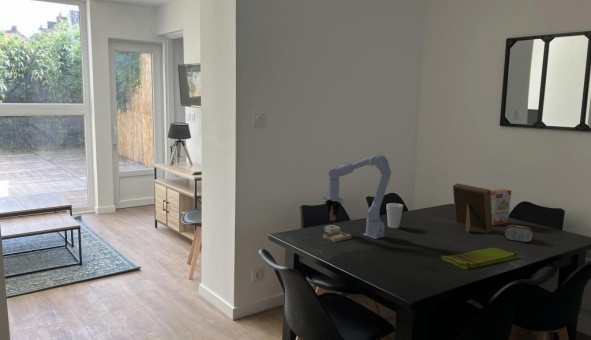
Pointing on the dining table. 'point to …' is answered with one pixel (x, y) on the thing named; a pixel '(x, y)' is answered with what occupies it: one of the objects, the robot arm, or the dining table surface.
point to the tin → (519, 233)
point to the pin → (332, 214)
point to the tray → (337, 236)
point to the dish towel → (480, 258)
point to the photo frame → (472, 207)
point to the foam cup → (394, 214)
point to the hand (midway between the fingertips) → (332, 214)
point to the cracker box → (500, 206)
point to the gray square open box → (332, 228)
